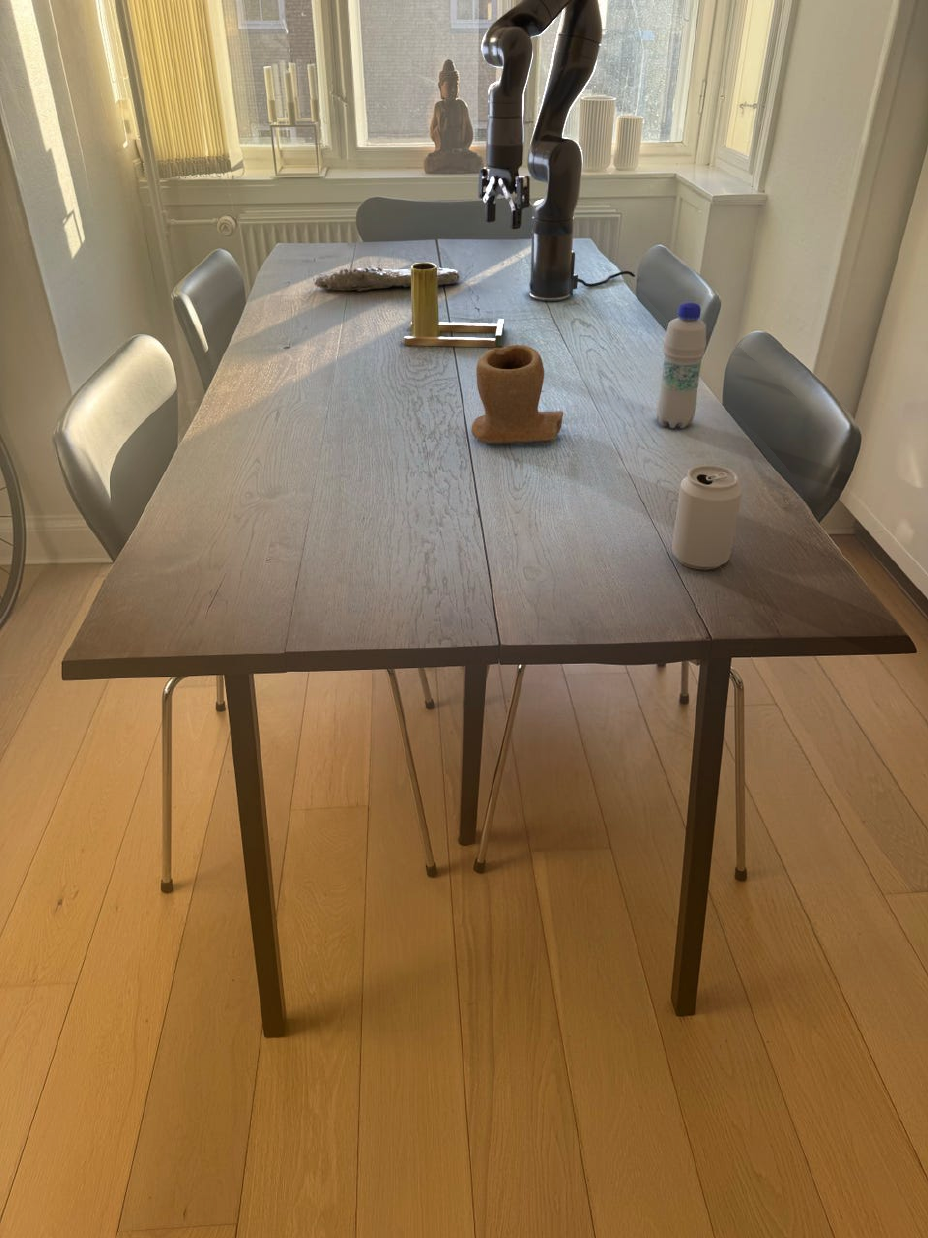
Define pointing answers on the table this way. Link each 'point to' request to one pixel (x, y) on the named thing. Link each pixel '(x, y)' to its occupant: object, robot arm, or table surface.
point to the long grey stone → (376, 278)
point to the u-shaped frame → (461, 341)
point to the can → (706, 516)
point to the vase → (424, 300)
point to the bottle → (681, 367)
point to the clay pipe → (513, 398)
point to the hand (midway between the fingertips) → (502, 224)
